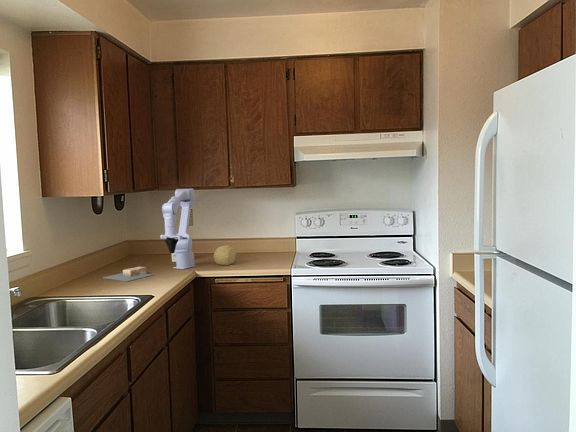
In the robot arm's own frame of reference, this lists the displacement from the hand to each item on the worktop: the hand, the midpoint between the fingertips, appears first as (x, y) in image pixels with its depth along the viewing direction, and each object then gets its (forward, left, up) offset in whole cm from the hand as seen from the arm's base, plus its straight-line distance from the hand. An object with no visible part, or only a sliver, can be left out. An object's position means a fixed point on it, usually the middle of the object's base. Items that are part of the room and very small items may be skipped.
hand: (172, 253), depth 255 cm
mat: (+16, -15, -10) cm, 24 cm away
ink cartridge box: (-28, -27, -11) cm, 41 cm away
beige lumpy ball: (-30, +8, -11) cm, 33 cm away
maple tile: (+7, -15, -9) cm, 19 cm away
